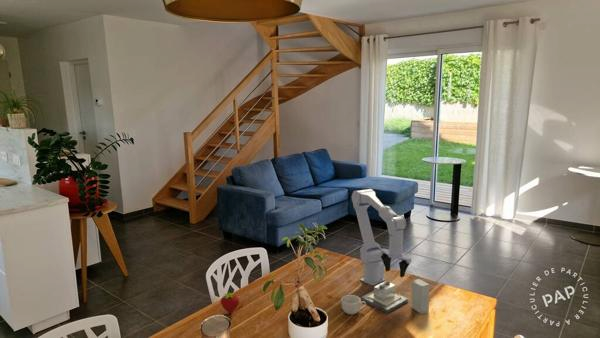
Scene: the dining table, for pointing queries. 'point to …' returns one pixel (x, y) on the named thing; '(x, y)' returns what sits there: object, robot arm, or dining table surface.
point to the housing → (384, 291)
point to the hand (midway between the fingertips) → (394, 273)
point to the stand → (385, 302)
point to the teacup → (351, 304)
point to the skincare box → (420, 296)
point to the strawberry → (229, 302)
